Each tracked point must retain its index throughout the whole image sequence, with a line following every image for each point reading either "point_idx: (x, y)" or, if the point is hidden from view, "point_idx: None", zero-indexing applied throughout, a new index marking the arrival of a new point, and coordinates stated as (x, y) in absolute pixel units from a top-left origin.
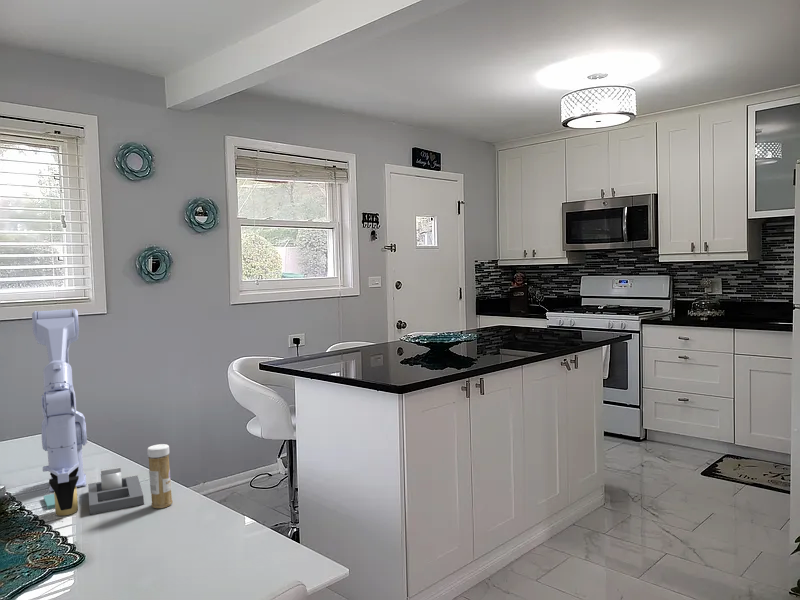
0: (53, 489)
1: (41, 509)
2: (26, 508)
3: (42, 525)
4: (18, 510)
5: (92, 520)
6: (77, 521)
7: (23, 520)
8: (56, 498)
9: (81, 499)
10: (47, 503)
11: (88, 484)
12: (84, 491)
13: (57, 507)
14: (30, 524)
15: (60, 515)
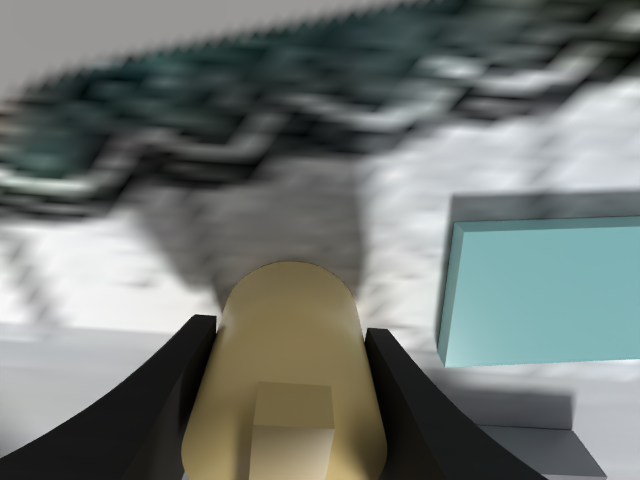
0: (7, 455)
1: (495, 185)
2: (622, 86)
3: (127, 167)
4: (633, 21)
5: (64, 410)
6: (89, 350)
7: (339, 43)
8: (237, 350)
9: (480, 393)
10: (523, 236)
11: (596, 477)
12: (609, 414)
13: (246, 303)
14: (202, 89)
15: (237, 284)
